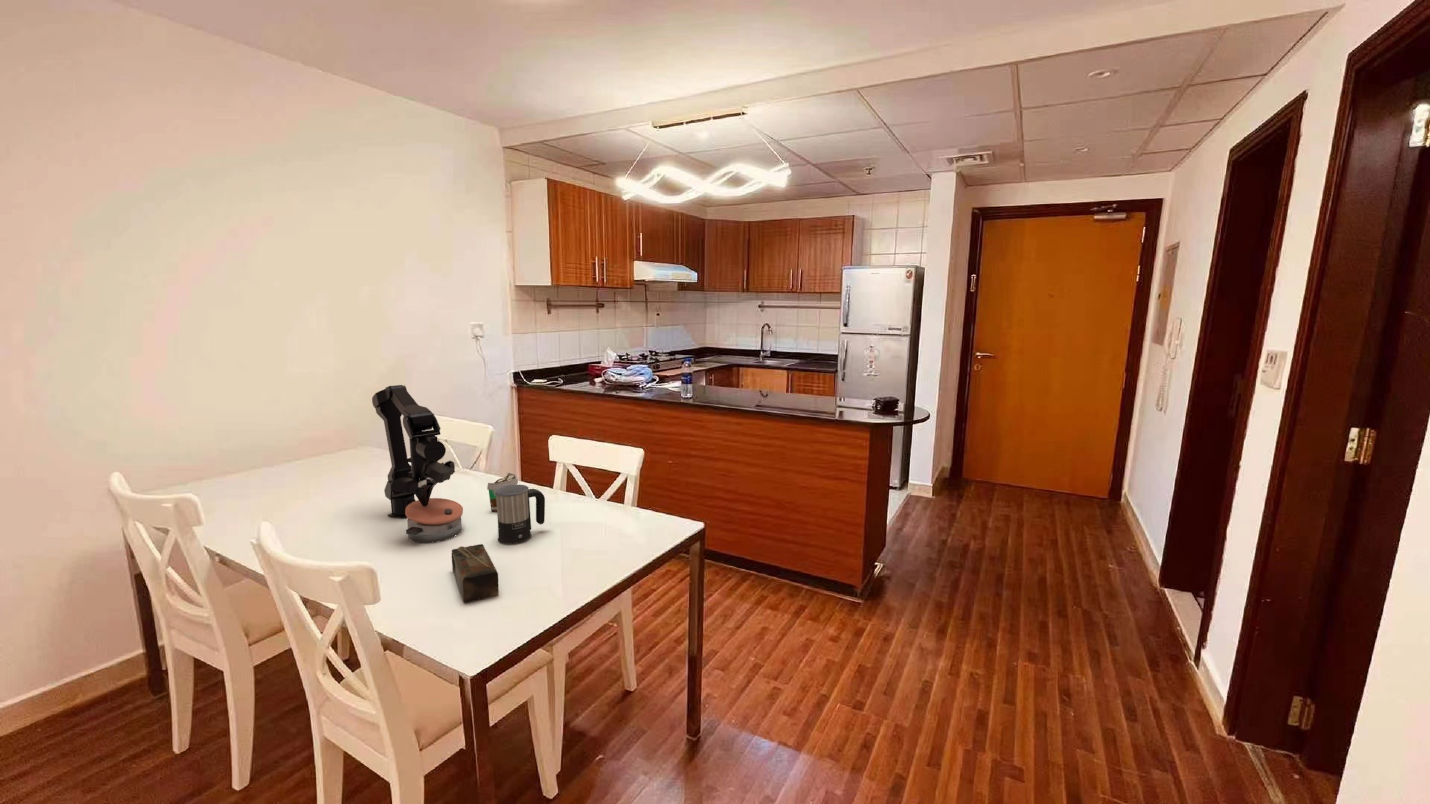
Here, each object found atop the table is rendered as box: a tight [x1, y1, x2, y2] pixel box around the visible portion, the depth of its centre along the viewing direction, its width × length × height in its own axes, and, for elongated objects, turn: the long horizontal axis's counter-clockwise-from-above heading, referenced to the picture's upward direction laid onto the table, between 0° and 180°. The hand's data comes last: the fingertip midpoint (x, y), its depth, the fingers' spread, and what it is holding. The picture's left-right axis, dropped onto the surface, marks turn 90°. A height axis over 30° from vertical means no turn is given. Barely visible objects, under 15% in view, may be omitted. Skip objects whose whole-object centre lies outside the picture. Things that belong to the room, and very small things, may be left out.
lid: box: [405, 497, 464, 524], centre depth 164 cm, size 15×15×2 cm
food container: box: [486, 472, 519, 513], centre depth 186 cm, size 12×6×10 cm, turn 168°
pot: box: [405, 516, 463, 544], centre depth 165 cm, size 14×19×5 cm
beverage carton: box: [451, 543, 500, 604], centre depth 137 cm, size 8×19×7 cm, turn 32°
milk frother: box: [495, 483, 546, 545], centre depth 165 cm, size 14×16×15 cm
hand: (425, 505), depth 165 cm, fingers closed, pressing on lid
